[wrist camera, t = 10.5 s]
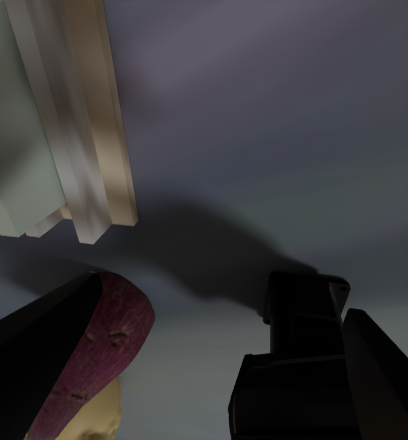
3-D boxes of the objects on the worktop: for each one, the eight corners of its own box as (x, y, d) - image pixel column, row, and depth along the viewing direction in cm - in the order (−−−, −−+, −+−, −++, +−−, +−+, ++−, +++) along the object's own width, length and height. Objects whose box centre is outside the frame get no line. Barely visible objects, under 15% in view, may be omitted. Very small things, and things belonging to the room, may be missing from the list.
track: (138, 220, 24) (117, 247, 21) (40, 210, 26) (6, 233, 22) (91, -67, 14) (38, -102, 11) (-58, -50, 16) (-142, -77, 13)
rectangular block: (85, 188, 22) (18, 237, 16) (59, 186, 23) (-15, 233, 17) (34, 1, 16) (-104, -29, 10) (0, 3, 16) (-151, -24, 10)
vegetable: (150, 319, 36) (104, 468, 27) (74, 296, 35) (-5, 444, 25) (168, 288, 29) (112, 483, 19) (70, 256, 27) (-46, 449, 17)
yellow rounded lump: (97, 394, 45) (53, 480, 36) (43, 349, 41) (-22, 434, 32) (147, 386, 40) (111, 484, 31) (92, 335, 36) (31, 430, 27)
